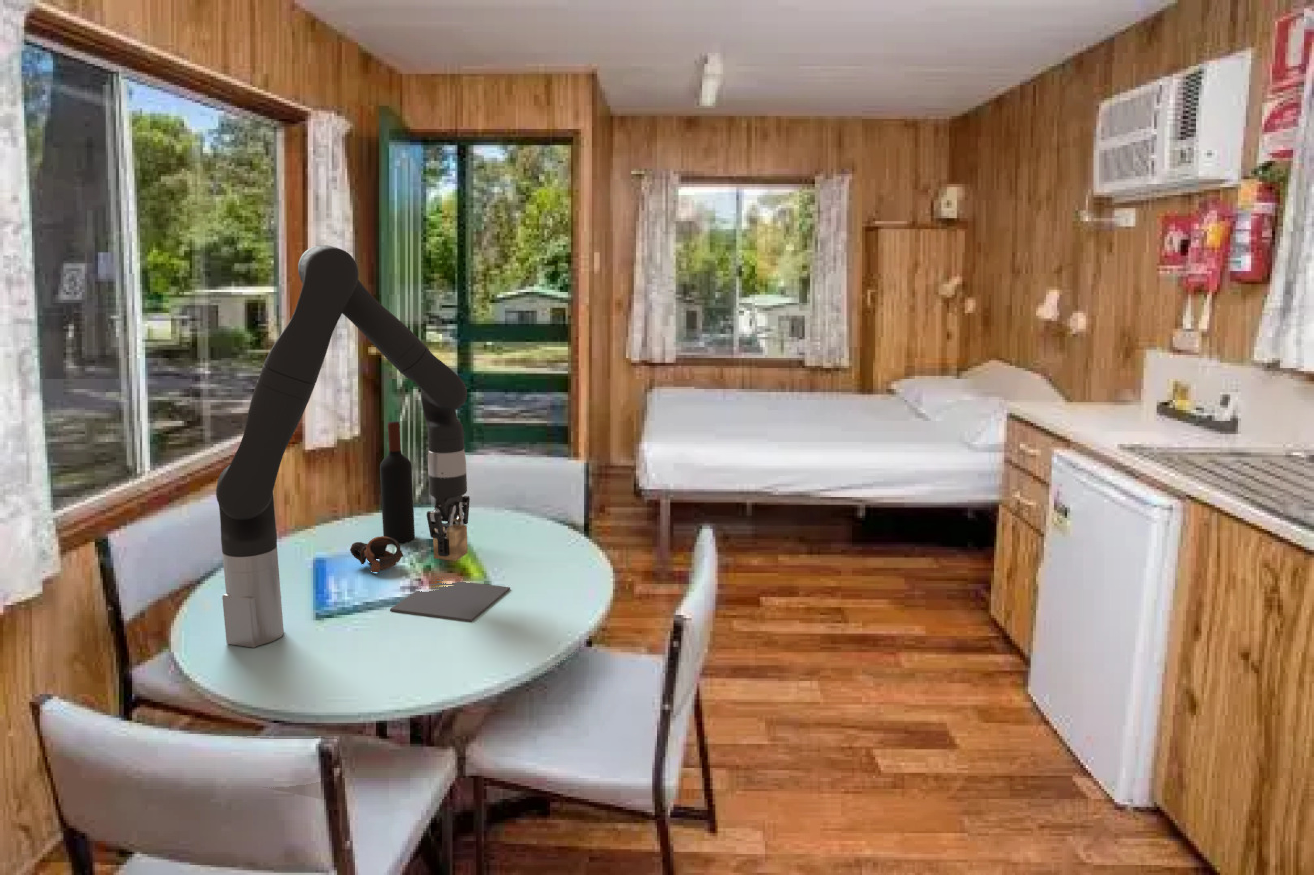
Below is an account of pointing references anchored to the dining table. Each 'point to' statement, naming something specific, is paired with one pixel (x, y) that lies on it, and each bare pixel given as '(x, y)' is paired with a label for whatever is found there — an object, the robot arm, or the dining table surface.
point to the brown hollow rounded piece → (377, 553)
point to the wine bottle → (397, 490)
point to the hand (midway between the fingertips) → (450, 551)
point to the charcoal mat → (452, 601)
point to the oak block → (454, 543)
